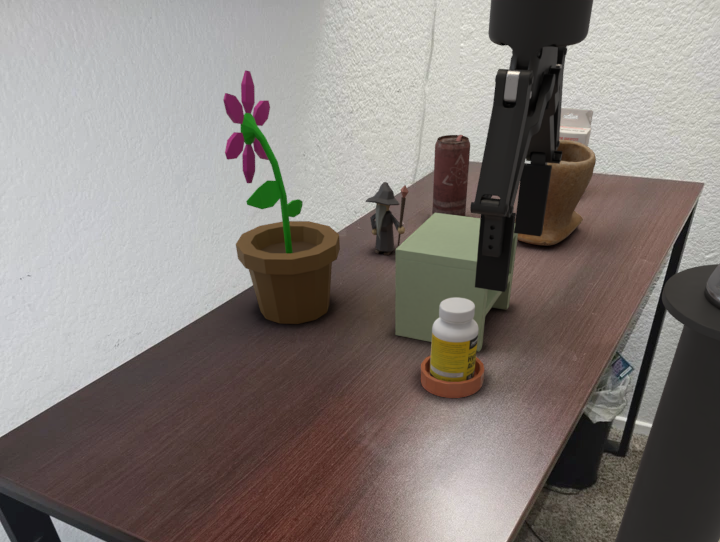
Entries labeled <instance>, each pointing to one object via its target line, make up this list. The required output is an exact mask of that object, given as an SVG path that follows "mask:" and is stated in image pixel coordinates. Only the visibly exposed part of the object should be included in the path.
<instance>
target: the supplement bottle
mask: <svg viewBox="0 0 720 542" xmlns="http://www.w3.org/2000/svg"><path fill="white" fill-rule="evenodd" d="M474 311H475V305H474V303H473V302H472V301H470V300H468V299H465V298H448V299H445V300H443V301H442V302H441V303H440V308H439V318H438V319H437V320H436V321H435V322H434V324H433V327H432V342H430V343H431V346H430V355H431V360H430V376H432V377H434V378H436V379H438V380H443V381H447V382H461V381H465V380H470V379H471V378H473V377H474V370H475V361H476V357H477V352H478V351H477V341H478V330H479V329H478V324H477V323H476V321H475V320H474V319H473V318H474Z"/></svg>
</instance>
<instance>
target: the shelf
mask: <svg viewBox="0 0 720 542" xmlns="http://www.w3.org/2000/svg"><path fill="white" fill-rule="evenodd" d="M480 218H481V217H472V216H466V215H465V216H457V215H450V214H442V213H434V214H433V215H432V214H431V216H430V217H429V218H427V219H426V220H424V222H423V223H422V224H421V225H420V226H419V227H418V228H416V230H415V231H413V232H412V233H411V234H410V235H409V236H408V237H407V238H406V239H404V241H403V242H401V243H400V244H399V246H398V245H397V246H398V247H396V248H395V303H394V304H395V305H394V306H395V309H394V310H395V319H394V321H395V323H394V325H395V331H394V332H395V333H394V334H395V336H398V337H399V336H400V337H404V338H408V339H409V338H410V339H413V340H414V339H415V340H419V341H425V342H429V343H432V327H433V324H434V322H435V321H436V320H437V319H438V318H439V308H440V303H441V302H442V301H443V300H445V299H448V298H465V299H468V300H470V301H472V302H473V303H474V305H475V311H474V318H473V319H474V320H475V321H476V323H477V324H478V329H479V330H478V341H477V351H476V352H481V350H482V349H483V341H484V333H485V332H484V331H485V320H486V316H487V315H488V313H489V312H490V310H491V309H492V308H493V309H499V310H506V311H507V310H508V309H509V307H510V301H511V293H512V287H513V277H514V269H515V261H516V253H517V245H518V240H517V238H518V234H517V233H514V234H513V242H512V250H511V259H510V267H509V276H508V284H507V289H506V291H505V292H501V291H495V290H488V289H482V288H476V287H475V277H476V266H477V254H478V242H479V230H480ZM514 228H515V225H514Z"/></svg>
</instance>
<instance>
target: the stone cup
mask: <svg viewBox="0 0 720 542" xmlns="http://www.w3.org/2000/svg"><path fill="white" fill-rule="evenodd" d="M559 141H560V145H559V147H558V149H557V151H562V158H561V162H560V164H557V163H547V165H552V169H551V176H550V183H549V190H548V197H547V203H546V210H545V217H544V224H543V230H542V235H541V236H534V235H526V234H518V238H517V241H520V242H522V243H526V244H531V245H537V246H553V245H557V244H558V243H561V242H562V241H564V240H565V239H566V238H568V237H569V236H570V234H572V233H573V232H574V231H575V230H576V229H577V228H578V227H579V226H580V225H581V224H582V222H583V221H584V218H583V216H582V215H581V214H580V213H578V212H577V211H576V208H577V206H578V204H579V202H580V201H581V199H582V197H583V195H584V193H585V191H586V190H587V188H588V186H589V184H590V183H591V180H592V178H593V176H594V175H593V174H594V169H595V167H596V162H597V157H596V153H595V152H594V150H593V149H591V147H589V146H588V147H587V146H586V145H584V144H582V143H579V142H576V141H571V140H559Z"/></svg>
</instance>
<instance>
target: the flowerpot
mask: <svg viewBox="0 0 720 542" xmlns="http://www.w3.org/2000/svg"><path fill="white" fill-rule="evenodd" d="M255 92H256V91H255V83H254V80H253V77H252V73H251V71H249V70H244V72H243V76H242V80H241V83H240V93H241V95H240V98H241V100H239V99H238V98H237V96H236V95H234V94H231V93H227V92H225V93H224V96H223V99H222V100H223V105H224V110H225V113H226V115H227V116H228V118H229V119H230V120H231V122H232V123H233V124H237V125H240V132H237V131H236V132H235V131H234V132H233V133H231V135H230V136H229V138H228V139H227V140H226V145H225V150H224V155H225V158H226V160H236V159H238V158H239V156H240V155H241V157H242V158H241V159H242V172H243V176H244V179H245V182H246V184H252V183H253V180H254V176H255V174H256V155H257V157H258V158H259V159H261V160H264V161H265V160H266V161H269V164H270V166H271V169H272V172H273V178H274V180H272V179H271V180H268V179H267V180H266V181H264V182H263V183H262V184H260V186H258V187H257V188H256V189H255V190H254V191H253V193H252V194H251V195H250V196H249V198H247V200H246V201H245V202H246V205H247V206H248V207H249V206H250V207H253V208H256V209H258V210H259V209H260V210H266V209H269V208H274V207H275V205H276V204H277V203H278V202H279V203H280V211H281V212H280V213H281V221H277V222H272V223H268V224H261V225H259V226H255V227H254V228H252V229H250V230H248V231H245V232H243V233H242V234H241V235H240V237H239V238H238V239H237V241H236V242H235V248H236V249H235V250H236V256H237V259H238V261H239V262H240V264H242V266H243V267H244V268H245V269H247V270H248V272H249V276H250V279H251V282H252V286H253V290H254V294H255V297H256V300H257V304H258V308H259V311H260V313H261V314H262V315H263V317H264V318H265V319H266V320H268V321H271V322H274V323H277V324H283V325H300V324H303V323H309V322H312V321H316V320H318V319H319V318H321V317H322V316H324V315H325V314H327V313H328V310H329V307H330V300H331V298H330V297H331V285H332V269H333V268H332V267H333V262H335V261H337V260H338V256H339V254H340V250H341V245H340V241H341V240H340V233H338V231H336V230H335V229H333V228H332V227H331V226H330V225H326V224H322V223H318V222H314V221H308V220H303V221H302V220H296V221H295V220H290V218H295V217H297V216H299V215H300V214H301V212H302V209H303V206H304V205H303V202H304V201H303V200H301V199H299V198H298V199H292V200H291V201H289V202H288V196H287V191H286V188H285V183H284V179H283V176H282V172H281V169H280V168H281V167H280V164H279V161H278V159H277V157H276V155H275V154H274V151H273V150H272V147H271V145H270V144H269V142H268V139H267V138H266V136H265V135H264V132H263V131H262V130H261V129H260V128H259V127H263V126H264V124H265V123H266V122H267V121H268V119H269V115H270V110H271V104H270V100H267V99H266V100H259V101H258V102H257V103H256V102H255V101H256V100H255V99H256V97H255V95H256V94H255ZM240 101H241V102H240ZM255 103H256V104H255ZM244 112H245V113H244Z"/></svg>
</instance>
